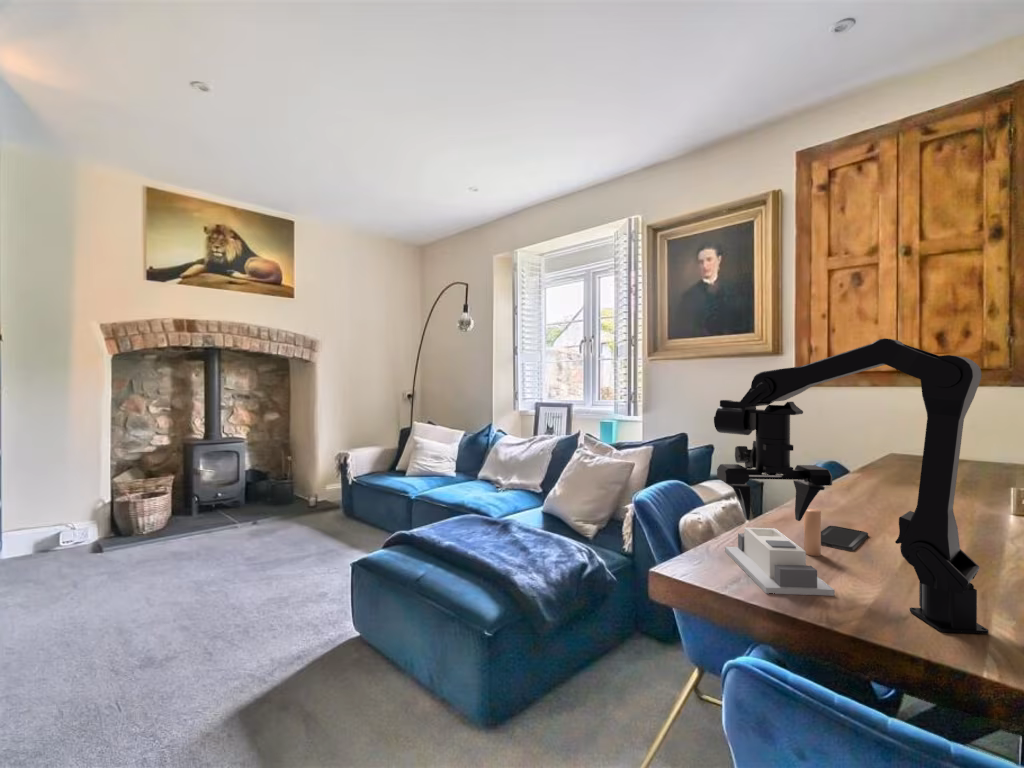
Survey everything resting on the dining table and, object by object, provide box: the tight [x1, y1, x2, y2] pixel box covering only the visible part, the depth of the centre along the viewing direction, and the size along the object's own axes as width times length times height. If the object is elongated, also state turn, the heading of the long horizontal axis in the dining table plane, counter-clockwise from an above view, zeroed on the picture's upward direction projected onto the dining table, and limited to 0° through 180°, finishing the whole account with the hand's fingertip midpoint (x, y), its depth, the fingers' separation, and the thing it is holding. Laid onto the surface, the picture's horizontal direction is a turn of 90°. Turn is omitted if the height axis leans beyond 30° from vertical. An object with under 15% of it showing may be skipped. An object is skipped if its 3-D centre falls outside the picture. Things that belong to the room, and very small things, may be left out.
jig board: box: [724, 532, 835, 597], centre depth 91 cm, size 20×11×4 cm, turn 175°
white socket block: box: [743, 527, 807, 578], centre depth 91 cm, size 13×6×5 cm, turn 172°
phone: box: [821, 525, 869, 552], centre depth 109 cm, size 8×1×15 cm
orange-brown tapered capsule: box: [803, 507, 822, 557], centre depth 100 cm, size 3×3×9 cm
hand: (772, 519), depth 91 cm, fingers open, 9 cm apart
